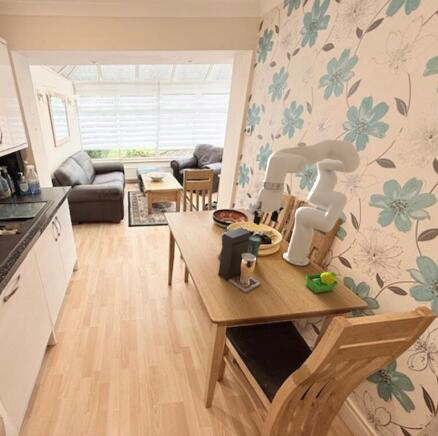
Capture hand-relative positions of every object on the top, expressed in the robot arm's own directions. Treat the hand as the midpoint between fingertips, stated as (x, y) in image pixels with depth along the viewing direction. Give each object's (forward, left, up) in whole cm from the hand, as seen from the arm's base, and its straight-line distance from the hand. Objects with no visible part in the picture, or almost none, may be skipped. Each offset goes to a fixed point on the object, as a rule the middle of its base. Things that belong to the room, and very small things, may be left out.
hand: (264, 222), depth 107 cm
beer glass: (+6, -1, -32) cm, 32 cm away
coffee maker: (+6, -5, -32) cm, 32 cm away
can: (-12, -11, -32) cm, 35 cm away
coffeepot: (-4, -21, -32) cm, 38 cm away
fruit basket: (-21, +21, -32) cm, 44 cm away
